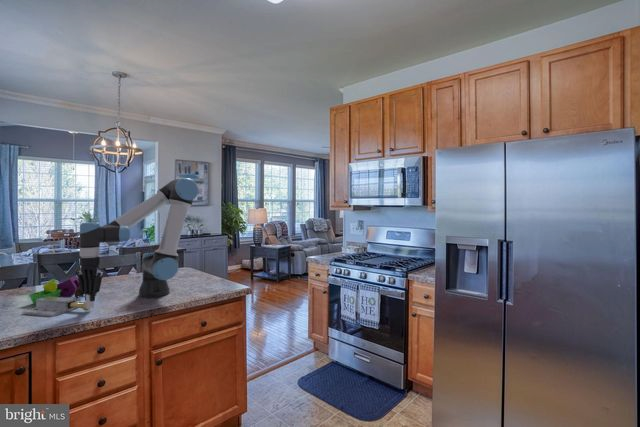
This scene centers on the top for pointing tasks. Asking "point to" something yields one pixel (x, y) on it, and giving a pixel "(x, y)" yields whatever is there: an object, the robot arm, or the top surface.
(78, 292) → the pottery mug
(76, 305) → the pin
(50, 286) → the fruit basket
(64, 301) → the hinge
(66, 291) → the mounting bracket
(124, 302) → the top surface
